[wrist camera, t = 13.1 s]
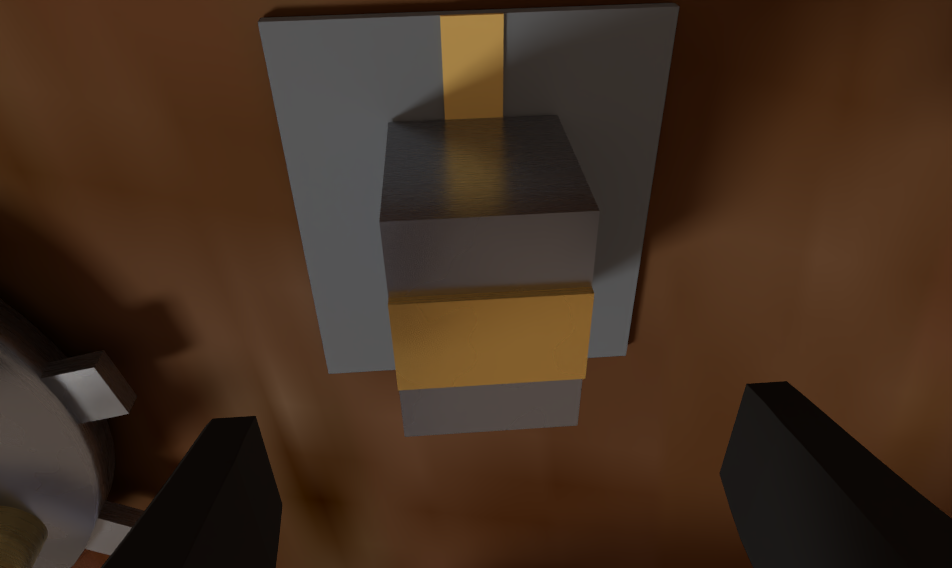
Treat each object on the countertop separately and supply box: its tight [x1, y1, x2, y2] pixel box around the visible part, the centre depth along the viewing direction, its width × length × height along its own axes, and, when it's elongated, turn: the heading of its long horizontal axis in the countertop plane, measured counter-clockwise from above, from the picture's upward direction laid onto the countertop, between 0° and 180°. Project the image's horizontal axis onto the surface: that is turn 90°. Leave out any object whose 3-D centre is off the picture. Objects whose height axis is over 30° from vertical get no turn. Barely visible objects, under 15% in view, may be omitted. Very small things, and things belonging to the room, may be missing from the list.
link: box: [379, 115, 600, 437], centre depth 14 cm, size 5×4×4 cm
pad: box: [258, 3, 679, 374], centre depth 15 cm, size 9×8×1 cm
